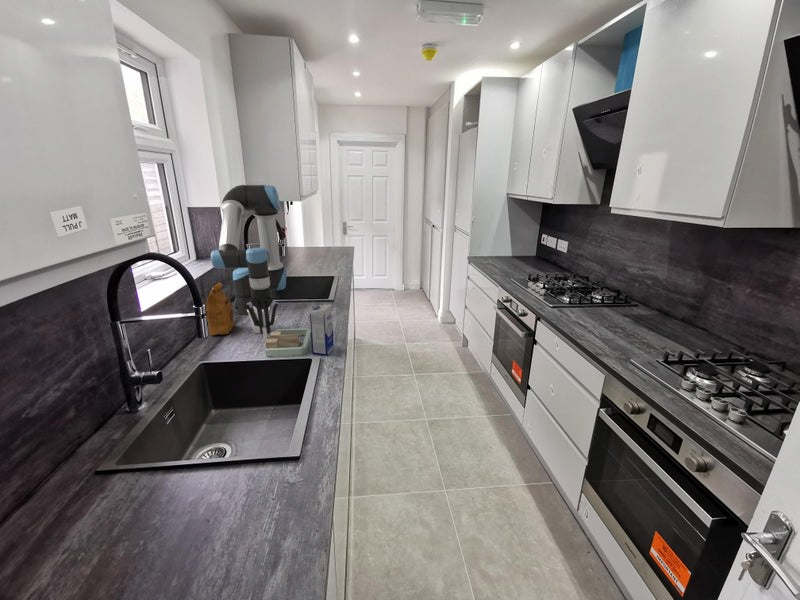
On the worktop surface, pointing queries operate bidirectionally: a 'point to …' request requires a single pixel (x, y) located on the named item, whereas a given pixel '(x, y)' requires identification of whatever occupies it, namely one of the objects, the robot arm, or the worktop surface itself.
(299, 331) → the dock bay
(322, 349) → the milk carton
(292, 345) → the t block
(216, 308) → the coffee package
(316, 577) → the worktop surface
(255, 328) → the cup
